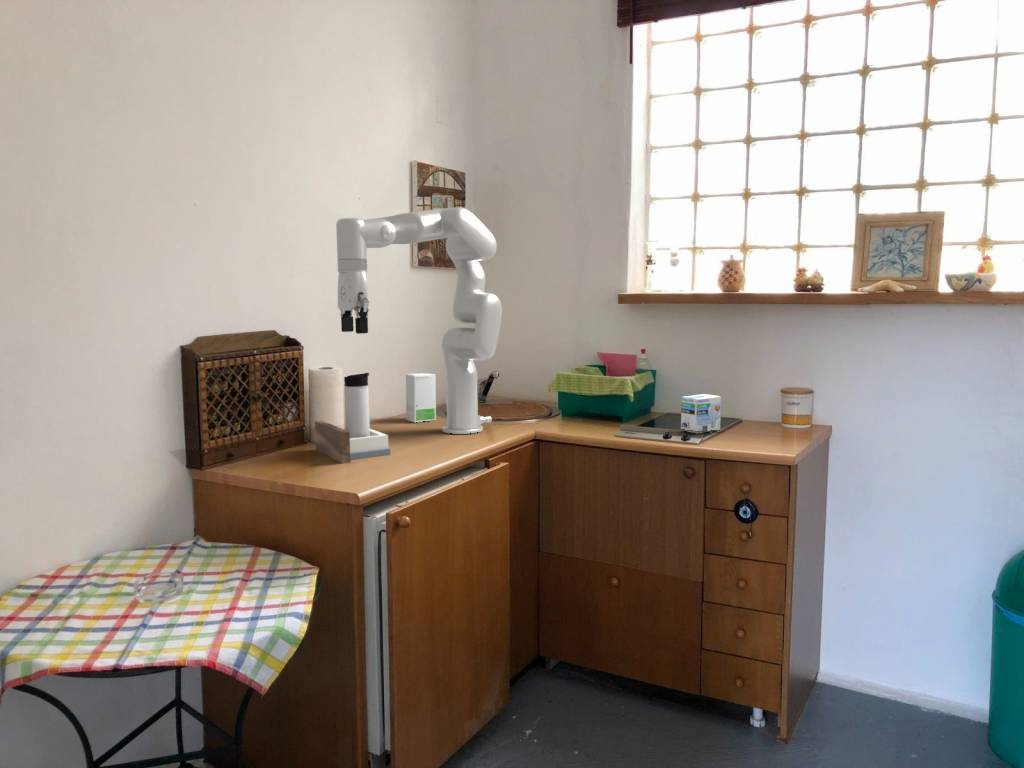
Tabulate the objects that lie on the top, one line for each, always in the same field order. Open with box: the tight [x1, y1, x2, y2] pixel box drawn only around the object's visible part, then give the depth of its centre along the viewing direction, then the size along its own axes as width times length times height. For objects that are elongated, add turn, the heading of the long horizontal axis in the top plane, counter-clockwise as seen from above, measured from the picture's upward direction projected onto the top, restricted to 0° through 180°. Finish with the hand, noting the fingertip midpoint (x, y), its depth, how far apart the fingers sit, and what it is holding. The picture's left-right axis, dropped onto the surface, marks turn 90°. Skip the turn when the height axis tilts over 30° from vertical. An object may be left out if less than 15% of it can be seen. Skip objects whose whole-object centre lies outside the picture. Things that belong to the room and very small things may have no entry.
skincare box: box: [405, 373, 437, 424], centre depth 262 cm, size 8×7×16 cm
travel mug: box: [343, 372, 371, 439], centre depth 211 cm, size 6×7×20 cm
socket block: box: [350, 428, 391, 461], centre depth 213 cm, size 12×14×5 cm
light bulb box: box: [680, 393, 722, 431], centre depth 240 cm, size 11×7×11 cm, turn 123°
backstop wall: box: [314, 420, 351, 464], centre depth 209 cm, size 2×20×8 cm, turn 33°
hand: (354, 332), depth 209 cm, fingers open, 9 cm apart
